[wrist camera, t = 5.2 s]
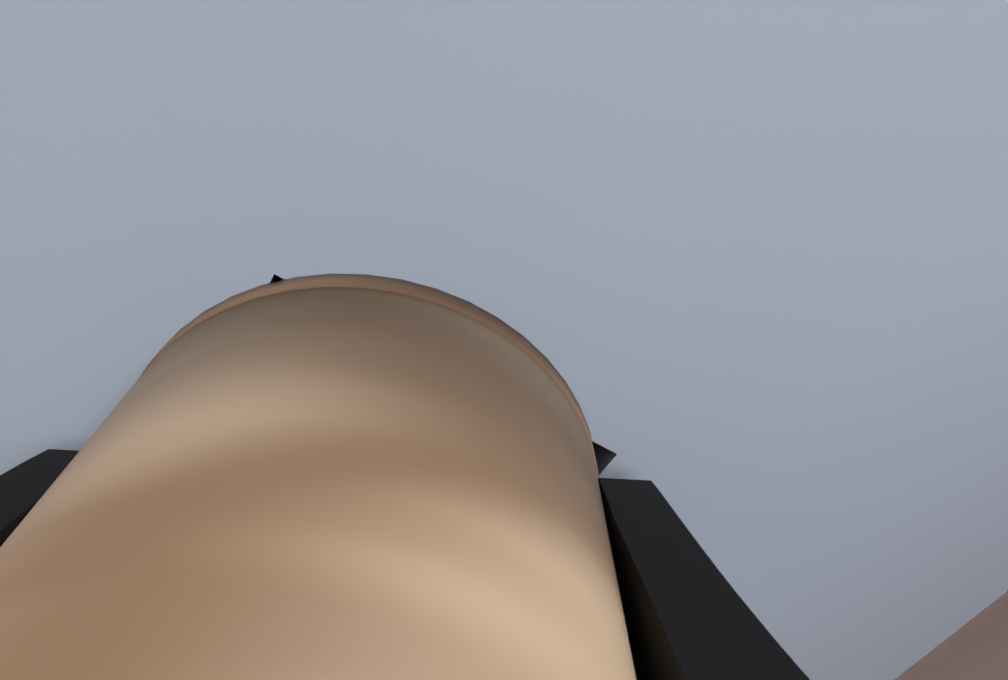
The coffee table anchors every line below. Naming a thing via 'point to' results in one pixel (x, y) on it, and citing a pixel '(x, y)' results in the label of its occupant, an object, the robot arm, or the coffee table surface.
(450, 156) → the mortise board
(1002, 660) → the coffee table surface
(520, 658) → the oak peg
